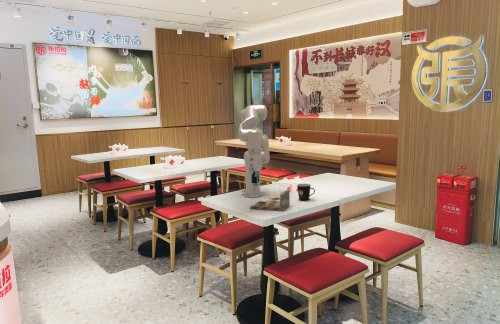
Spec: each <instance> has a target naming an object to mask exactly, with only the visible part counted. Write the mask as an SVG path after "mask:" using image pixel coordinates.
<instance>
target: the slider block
mask: <svg viewBox="0 0 500 324" xmlns="http://www.w3.org/2000/svg"><path fill="white" fill-rule="evenodd" d="M265 200H266V201H265V202H266V207H279V208H280V196H270V197H268V198H267V199H265Z"/></svg>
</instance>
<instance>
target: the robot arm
mask: <svg viewBox="0 0 500 324" xmlns="http://www.w3.org/2000/svg"><path fill="white" fill-rule="evenodd" d="M267 117H268V109H267V107H266V105H264V104H250V105H248V106H246V107H245V108H244V109H242V110H241V111H240V119H241V123H240V124H239V126H238V137H239V141H240V142H243V143H245V146H246V148H247V151H245V152H244V154H243V160H244V166H245V186H246V187H245V189H244V188H242V189H240V190H241V193H244V197H246V198H259V197H263V192H261V178H260V176H261V174H260V173H261V172H260V171H261V170H262V169H263V165H264V164H265V165H266V164H268V163H269V162H270V158H271V157H270V144H269V137H268V135H267V134H264V132H263V131H262V130H261V128H258V125H259V122H260V121H262V122H263V121H265V120H267ZM253 172H255V173H253ZM256 172H258V186H253V183H257V176H256Z"/></svg>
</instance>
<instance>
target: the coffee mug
mask: <svg viewBox="0 0 500 324" xmlns="http://www.w3.org/2000/svg"><path fill="white" fill-rule="evenodd" d="M296 187H297V194H298V200H299V201H300V202H308V201H309V200H310V197H311V196H312V195H314V194H315V192H316V190H315V187H311V184H310V183H298V184H297V185H296ZM311 190H313V193H311ZM310 193H311V194H310Z"/></svg>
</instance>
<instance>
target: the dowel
mask: <svg viewBox="0 0 500 324" xmlns="http://www.w3.org/2000/svg"><path fill="white" fill-rule="evenodd" d="M253 173H255V172H253ZM256 176H257V183H253V186H258V172H256Z"/></svg>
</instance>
